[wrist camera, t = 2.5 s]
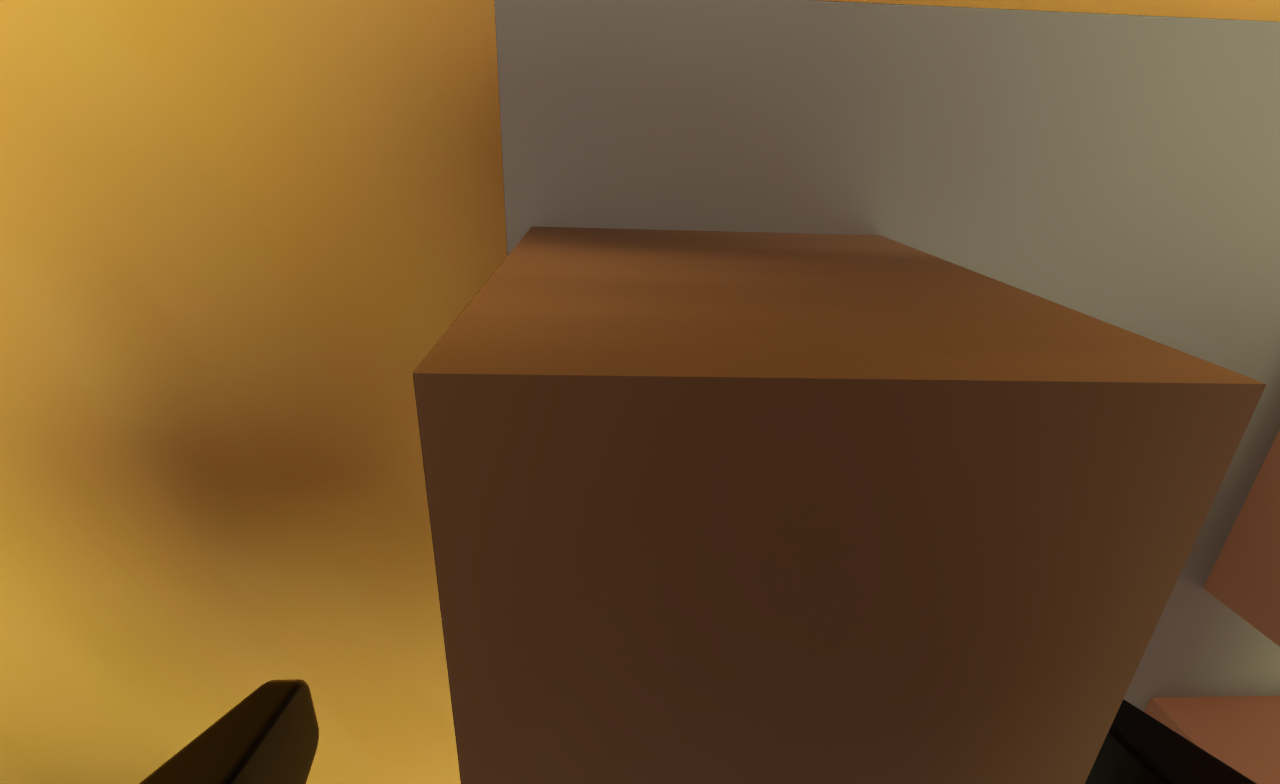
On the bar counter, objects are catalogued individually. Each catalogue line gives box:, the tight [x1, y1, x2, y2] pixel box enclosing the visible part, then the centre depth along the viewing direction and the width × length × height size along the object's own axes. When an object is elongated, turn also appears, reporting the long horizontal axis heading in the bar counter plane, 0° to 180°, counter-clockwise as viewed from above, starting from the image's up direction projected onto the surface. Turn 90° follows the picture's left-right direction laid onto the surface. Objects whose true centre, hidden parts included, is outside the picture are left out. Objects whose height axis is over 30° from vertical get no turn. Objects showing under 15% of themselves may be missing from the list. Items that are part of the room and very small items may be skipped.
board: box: [494, 0, 1280, 712], centre depth 10 cm, size 14×15×4 cm
